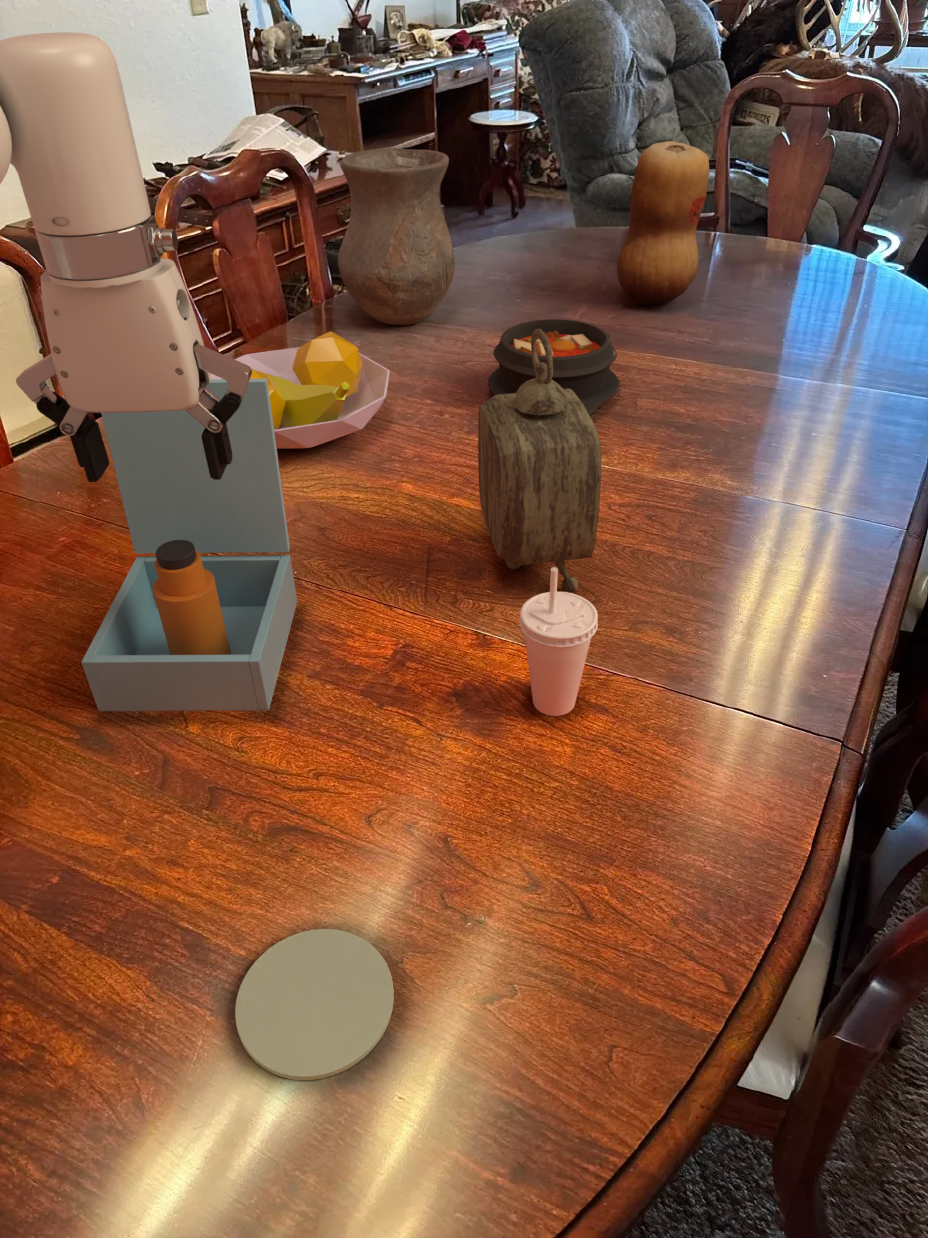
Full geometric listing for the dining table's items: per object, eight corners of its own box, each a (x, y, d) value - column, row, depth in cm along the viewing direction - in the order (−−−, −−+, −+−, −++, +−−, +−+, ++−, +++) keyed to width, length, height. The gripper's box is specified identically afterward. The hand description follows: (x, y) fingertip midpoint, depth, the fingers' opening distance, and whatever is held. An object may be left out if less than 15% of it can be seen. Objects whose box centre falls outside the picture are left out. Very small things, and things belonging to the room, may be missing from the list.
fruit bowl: (186, 402, 131) (169, 324, 124) (371, 375, 138) (364, 299, 131) (205, 495, 110) (186, 407, 103) (422, 458, 117) (418, 373, 110)
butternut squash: (674, 321, 153) (694, 156, 138) (601, 307, 159) (612, 148, 144) (705, 297, 162) (727, 140, 147) (635, 285, 168) (649, 132, 153)
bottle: (166, 677, 83) (135, 567, 75) (181, 641, 87) (152, 533, 79) (224, 677, 83) (198, 566, 75) (236, 640, 87) (212, 532, 79)
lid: (265, 381, 79) (275, 364, 82) (93, 383, 79) (111, 366, 83) (288, 552, 88) (296, 530, 91) (134, 553, 88) (149, 531, 92)
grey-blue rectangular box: (270, 717, 80) (259, 661, 76) (100, 718, 80) (80, 662, 76) (298, 607, 92) (290, 554, 88) (152, 608, 92) (136, 555, 88)
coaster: (220, 1080, 55) (218, 1076, 55) (253, 932, 63) (251, 928, 62) (387, 1081, 55) (387, 1077, 54) (399, 932, 63) (398, 928, 62)
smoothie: (516, 676, 83) (519, 546, 75) (588, 677, 83) (599, 546, 74) (517, 726, 78) (521, 593, 70) (593, 727, 78) (606, 593, 69)
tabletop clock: (591, 601, 92) (611, 360, 77) (503, 611, 91) (505, 369, 76) (556, 525, 103) (567, 302, 88) (477, 534, 102) (474, 310, 87)
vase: (343, 302, 164) (328, 147, 148) (450, 296, 165) (446, 142, 150) (344, 343, 148) (327, 174, 133) (462, 336, 150) (458, 168, 134)
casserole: (616, 438, 120) (622, 376, 115) (475, 430, 123) (475, 370, 117) (620, 363, 140) (625, 308, 134) (499, 358, 142) (499, 303, 137)
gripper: (238, 230, 65) (276, 448, 76) (-2, 236, 66) (68, 452, 76) (214, 263, 59) (259, 494, 70) (-50, 270, 60) (34, 499, 70)
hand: (159, 472), depth 73 cm, fingers open, 9 cm apart
